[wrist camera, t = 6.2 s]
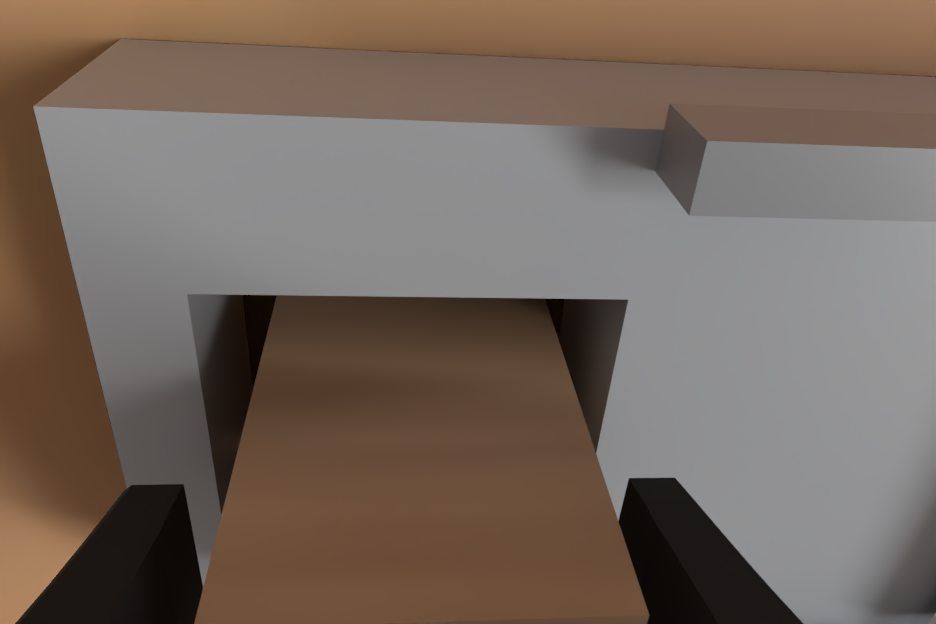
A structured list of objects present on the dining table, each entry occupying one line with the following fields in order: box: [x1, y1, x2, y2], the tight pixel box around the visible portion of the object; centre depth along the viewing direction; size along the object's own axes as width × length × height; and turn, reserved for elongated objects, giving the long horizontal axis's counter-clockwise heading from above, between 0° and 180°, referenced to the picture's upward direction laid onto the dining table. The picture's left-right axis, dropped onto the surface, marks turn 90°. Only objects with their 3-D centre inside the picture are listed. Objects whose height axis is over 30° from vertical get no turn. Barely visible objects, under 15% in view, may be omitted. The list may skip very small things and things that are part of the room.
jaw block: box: [194, 295, 649, 624], centre depth 10 cm, size 4×4×8 cm
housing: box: [33, 39, 936, 624], centre depth 12 cm, size 11×16×4 cm, turn 86°
